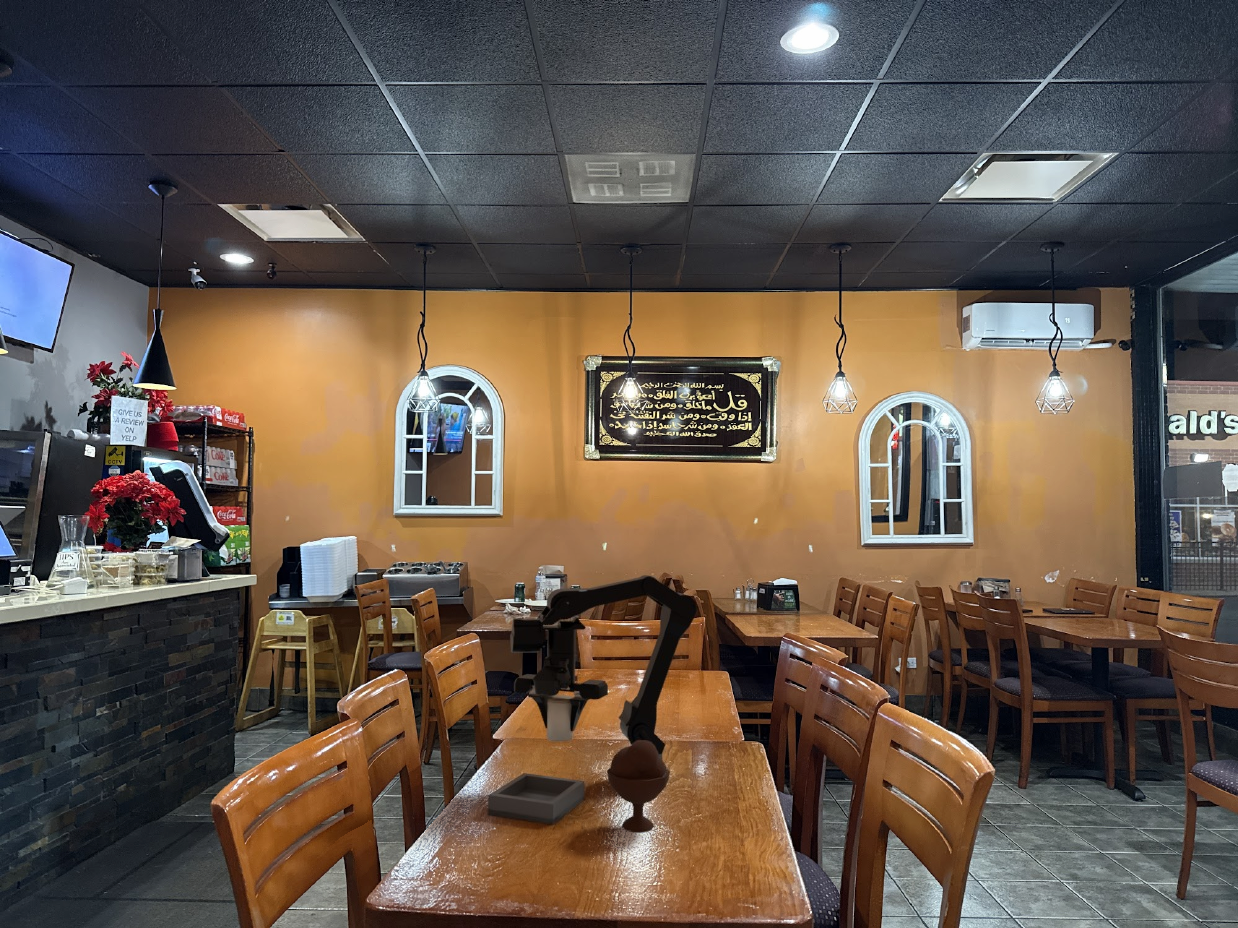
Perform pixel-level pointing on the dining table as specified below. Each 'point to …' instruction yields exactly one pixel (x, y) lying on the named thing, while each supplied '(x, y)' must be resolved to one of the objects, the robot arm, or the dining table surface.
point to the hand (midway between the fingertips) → (559, 729)
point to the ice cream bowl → (638, 780)
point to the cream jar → (559, 718)
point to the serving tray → (536, 798)
